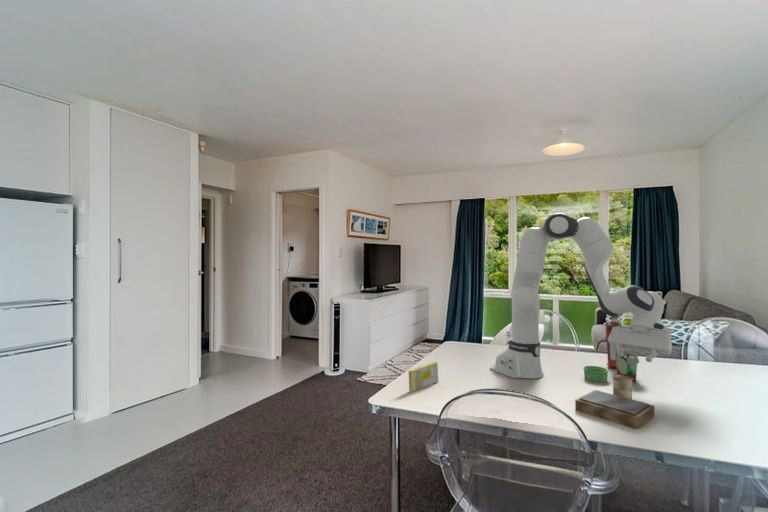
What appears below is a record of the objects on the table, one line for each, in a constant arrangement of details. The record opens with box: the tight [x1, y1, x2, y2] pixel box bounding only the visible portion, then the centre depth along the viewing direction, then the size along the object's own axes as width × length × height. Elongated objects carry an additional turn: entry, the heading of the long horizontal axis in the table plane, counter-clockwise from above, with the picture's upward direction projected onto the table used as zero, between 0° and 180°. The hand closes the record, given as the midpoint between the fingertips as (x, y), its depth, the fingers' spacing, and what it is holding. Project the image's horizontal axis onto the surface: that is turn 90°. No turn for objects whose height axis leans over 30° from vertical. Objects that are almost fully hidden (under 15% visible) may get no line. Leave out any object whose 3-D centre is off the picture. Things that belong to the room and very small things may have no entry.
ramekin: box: [582, 365, 609, 383], centre depth 156 cm, size 9×9×4 cm
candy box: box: [408, 361, 439, 393], centre depth 150 cm, size 16×2×8 cm, turn 134°
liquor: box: [605, 316, 625, 370], centre depth 170 cm, size 7×7×28 cm
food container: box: [615, 351, 640, 383], centre depth 155 cm, size 12×6×10 cm, turn 168°
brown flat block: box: [574, 389, 655, 430], centre depth 122 cm, size 18×14×4 cm
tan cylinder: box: [612, 374, 633, 400], centre depth 134 cm, size 4×4×8 cm
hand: (633, 358), depth 140 cm, fingers open, 8 cm apart
